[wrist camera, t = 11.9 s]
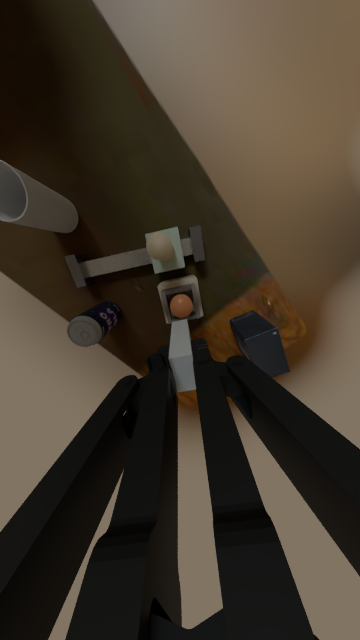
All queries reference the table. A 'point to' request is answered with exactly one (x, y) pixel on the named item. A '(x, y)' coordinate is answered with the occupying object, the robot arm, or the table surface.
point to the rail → (128, 259)
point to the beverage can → (93, 324)
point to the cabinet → (176, 286)
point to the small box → (260, 343)
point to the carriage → (165, 250)
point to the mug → (33, 203)
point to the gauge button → (181, 305)
